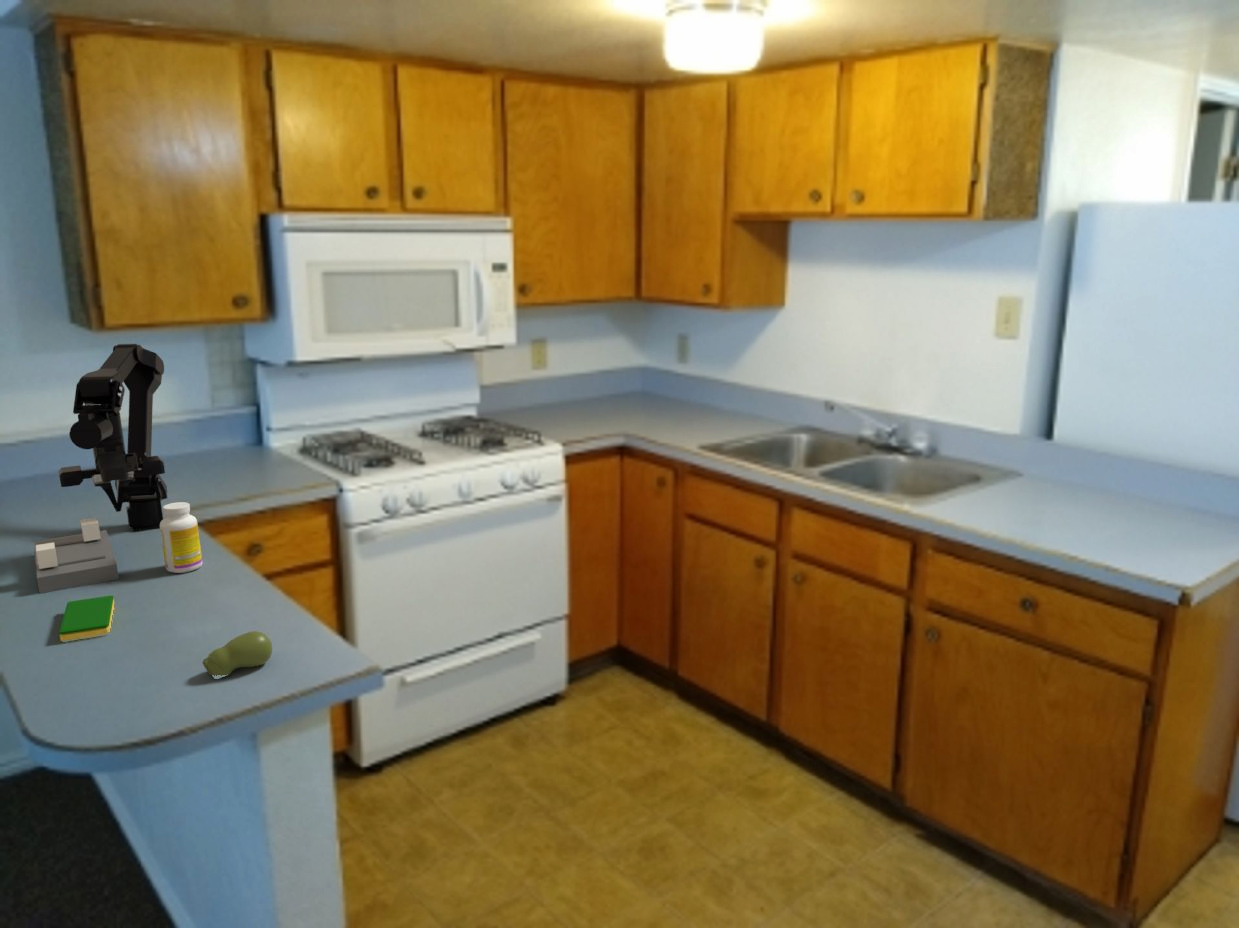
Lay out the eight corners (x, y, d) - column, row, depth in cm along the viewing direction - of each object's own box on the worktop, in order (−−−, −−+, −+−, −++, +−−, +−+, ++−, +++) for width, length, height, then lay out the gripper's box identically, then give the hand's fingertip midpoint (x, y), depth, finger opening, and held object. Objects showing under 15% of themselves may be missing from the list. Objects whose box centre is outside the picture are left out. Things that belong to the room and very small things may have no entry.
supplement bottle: (210, 565, 188) (202, 502, 185) (182, 576, 182) (174, 512, 179) (186, 560, 191) (178, 498, 187) (158, 571, 185) (149, 508, 181)
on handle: (56, 559, 181) (54, 542, 180) (57, 565, 178) (54, 548, 177) (38, 562, 180) (35, 545, 179) (39, 569, 176) (36, 551, 176)
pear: (271, 633, 144) (204, 661, 138) (280, 663, 146) (214, 692, 140) (260, 621, 148) (194, 647, 143) (269, 650, 150) (204, 677, 145)
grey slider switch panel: (108, 543, 201) (106, 529, 200) (118, 578, 181) (116, 563, 180) (36, 555, 194) (34, 540, 193) (39, 593, 174) (36, 577, 173)
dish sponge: (61, 645, 154) (58, 631, 153) (69, 614, 166) (67, 601, 165) (110, 637, 157) (108, 624, 156) (115, 607, 169) (113, 594, 168)
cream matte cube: (99, 533, 196) (96, 517, 195) (100, 538, 193) (98, 522, 192) (82, 536, 195) (80, 519, 194) (84, 541, 191) (81, 525, 190)
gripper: (55, 451, 180) (68, 530, 184) (163, 439, 189) (173, 513, 193) (53, 440, 189) (65, 514, 193) (156, 428, 199) (166, 500, 203)
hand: (118, 511), depth 195 cm, fingers closed
